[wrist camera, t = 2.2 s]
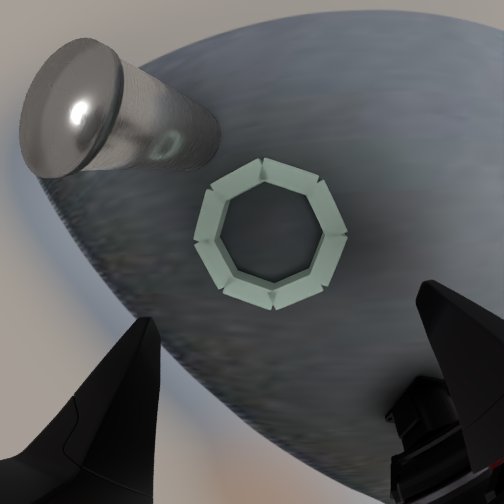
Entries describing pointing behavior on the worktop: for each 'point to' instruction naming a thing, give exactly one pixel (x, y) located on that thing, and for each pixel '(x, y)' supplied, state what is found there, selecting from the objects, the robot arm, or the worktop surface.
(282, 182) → the collar ring
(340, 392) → the worktop surface
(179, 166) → the glass jar
